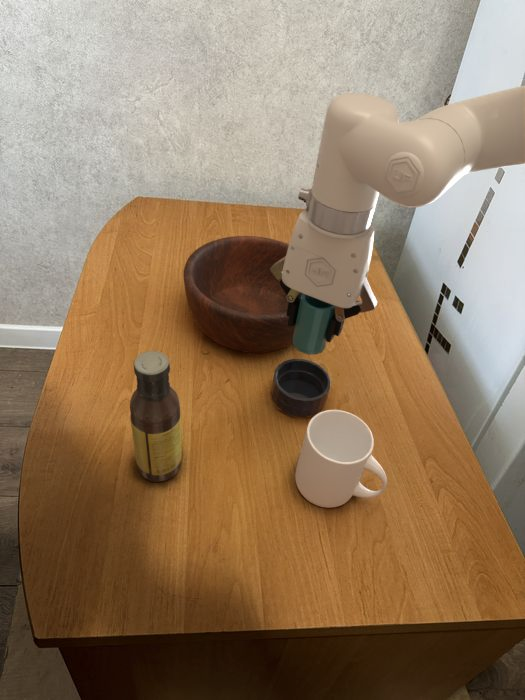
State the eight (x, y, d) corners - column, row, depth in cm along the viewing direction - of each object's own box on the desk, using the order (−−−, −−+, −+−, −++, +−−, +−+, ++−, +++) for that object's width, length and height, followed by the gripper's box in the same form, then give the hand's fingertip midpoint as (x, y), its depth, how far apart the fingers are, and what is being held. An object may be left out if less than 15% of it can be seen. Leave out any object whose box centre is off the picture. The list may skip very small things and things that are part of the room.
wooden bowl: (232, 385, 86) (237, 338, 79) (158, 300, 100) (157, 254, 93) (343, 335, 98) (356, 291, 91) (264, 266, 112) (270, 223, 105)
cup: (331, 339, 77) (343, 295, 71) (318, 359, 73) (330, 315, 68) (300, 326, 78) (309, 282, 73) (286, 346, 75) (295, 301, 69)
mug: (362, 535, 69) (384, 490, 62) (282, 489, 73) (295, 441, 65) (385, 487, 75) (408, 441, 68) (310, 447, 78) (324, 399, 71)
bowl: (333, 391, 87) (338, 372, 84) (312, 428, 81) (317, 409, 78) (284, 370, 90) (288, 351, 87) (260, 404, 84) (263, 385, 80)
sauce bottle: (188, 453, 75) (191, 352, 62) (171, 489, 71) (170, 389, 57) (146, 440, 76) (140, 338, 63) (126, 476, 72) (115, 373, 58)
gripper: (260, 200, 61) (246, 320, 73) (402, 249, 57) (361, 368, 69) (287, 178, 66) (269, 293, 79) (418, 221, 62) (377, 336, 74)
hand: (312, 327), depth 74 cm, fingers closed on cup, 5 cm apart
